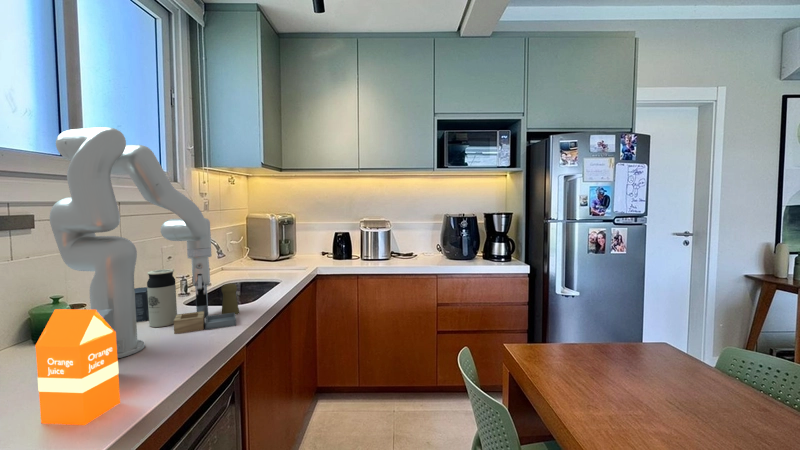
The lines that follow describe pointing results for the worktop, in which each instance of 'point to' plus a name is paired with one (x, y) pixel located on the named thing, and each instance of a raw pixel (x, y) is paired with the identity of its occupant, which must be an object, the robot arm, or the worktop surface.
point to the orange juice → (76, 367)
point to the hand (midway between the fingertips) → (202, 303)
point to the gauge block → (189, 322)
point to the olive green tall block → (229, 299)
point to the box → (141, 304)
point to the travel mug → (161, 298)
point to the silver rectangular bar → (203, 308)
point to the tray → (220, 321)
